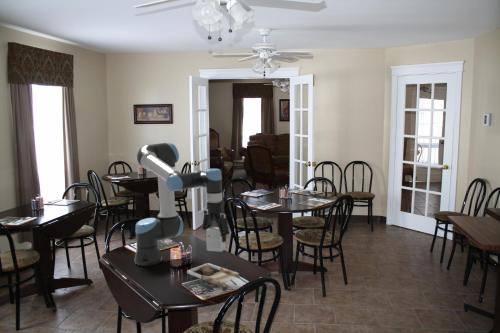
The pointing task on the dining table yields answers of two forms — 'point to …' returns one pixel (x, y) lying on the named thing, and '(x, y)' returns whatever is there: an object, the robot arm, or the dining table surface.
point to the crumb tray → (198, 269)
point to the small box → (213, 239)
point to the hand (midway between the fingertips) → (215, 245)
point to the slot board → (220, 276)
